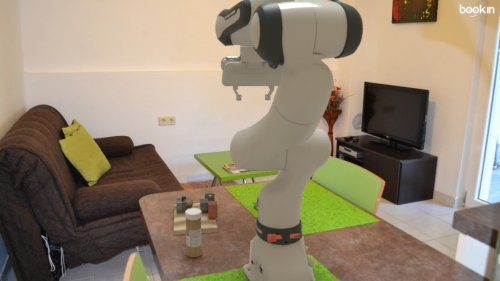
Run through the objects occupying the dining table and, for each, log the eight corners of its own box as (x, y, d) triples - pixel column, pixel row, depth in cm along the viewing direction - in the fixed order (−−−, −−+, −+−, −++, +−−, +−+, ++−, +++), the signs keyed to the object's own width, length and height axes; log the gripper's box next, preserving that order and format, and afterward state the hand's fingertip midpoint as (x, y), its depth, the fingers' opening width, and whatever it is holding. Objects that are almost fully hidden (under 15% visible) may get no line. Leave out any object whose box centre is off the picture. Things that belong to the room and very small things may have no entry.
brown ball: (193, 209, 141) (193, 200, 140) (183, 210, 141) (182, 200, 140) (193, 205, 145) (192, 196, 144) (182, 206, 144) (182, 197, 143)
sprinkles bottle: (186, 250, 117) (185, 207, 114) (202, 250, 117) (201, 207, 114) (185, 258, 113) (184, 214, 109) (202, 258, 113) (201, 213, 110)
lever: (218, 218, 135) (218, 204, 134) (201, 219, 134) (200, 205, 133) (214, 200, 150) (214, 187, 149) (198, 201, 149) (198, 188, 148)
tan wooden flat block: (221, 231, 129) (221, 216, 128) (173, 235, 126) (173, 219, 125) (215, 204, 151) (215, 191, 150) (174, 206, 149) (174, 193, 147)
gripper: (221, 56, 120) (222, 101, 123) (287, 56, 124) (286, 101, 127) (219, 55, 126) (220, 99, 129) (282, 56, 130) (281, 98, 133)
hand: (253, 100), depth 128 cm, fingers open, 8 cm apart
